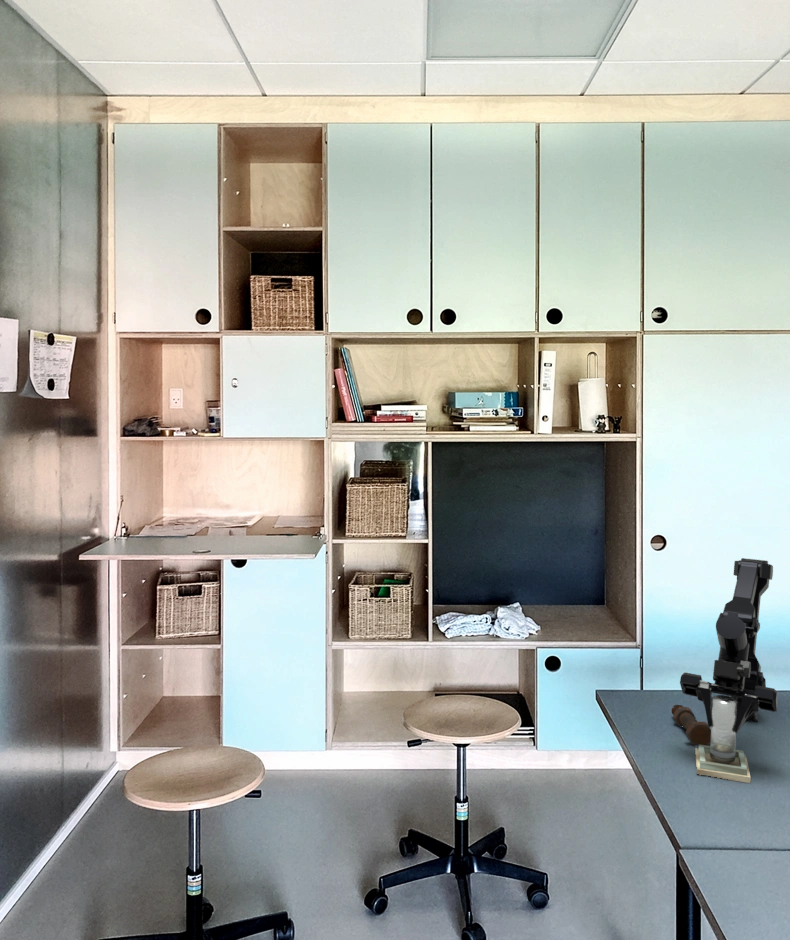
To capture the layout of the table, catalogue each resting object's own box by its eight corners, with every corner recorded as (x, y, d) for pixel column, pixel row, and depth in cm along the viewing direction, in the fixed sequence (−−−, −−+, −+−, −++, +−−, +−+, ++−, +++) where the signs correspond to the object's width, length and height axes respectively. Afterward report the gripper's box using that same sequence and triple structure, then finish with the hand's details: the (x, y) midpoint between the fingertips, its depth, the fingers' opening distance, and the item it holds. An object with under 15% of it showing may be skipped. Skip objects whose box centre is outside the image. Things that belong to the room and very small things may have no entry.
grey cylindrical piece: (706, 751, 160) (708, 694, 159) (729, 751, 160) (731, 695, 158) (715, 762, 155) (717, 704, 154) (739, 763, 155) (741, 704, 154)
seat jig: (695, 753, 164) (695, 742, 164) (745, 760, 160) (746, 750, 160) (696, 774, 154) (697, 763, 154) (750, 783, 151) (750, 771, 151)
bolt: (680, 725, 183) (703, 752, 168) (662, 714, 183) (684, 740, 168) (692, 705, 182) (717, 730, 167) (674, 694, 182) (698, 718, 167)
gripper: (683, 636, 163) (670, 703, 155) (778, 651, 154) (770, 723, 145) (689, 660, 171) (677, 725, 163) (780, 676, 161) (773, 746, 153)
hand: (722, 729), depth 156 cm, fingers closed on grey cylindrical piece, 5 cm apart
